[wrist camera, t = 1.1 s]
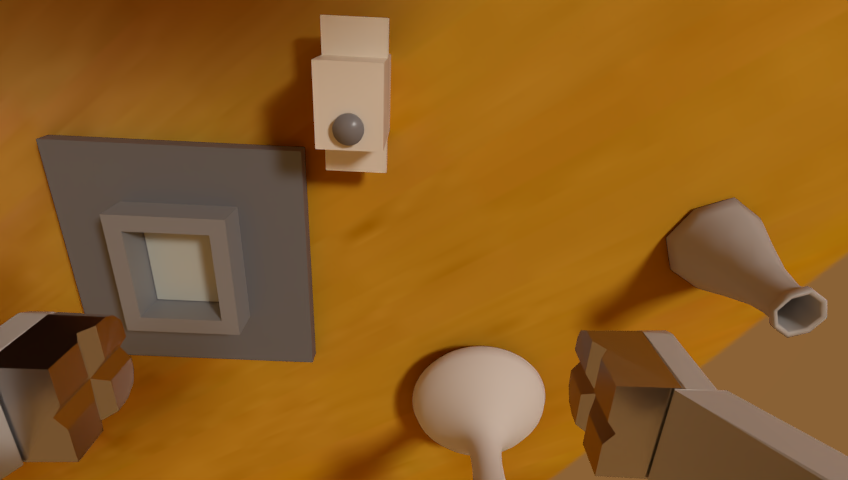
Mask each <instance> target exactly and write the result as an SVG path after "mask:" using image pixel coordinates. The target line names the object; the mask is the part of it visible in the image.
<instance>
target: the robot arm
mask: <svg viewBox="0 0 848 480" xmlns="http://www.w3.org/2000/svg"><path fill="white" fill-rule="evenodd" d="M125 337H126V334H125V331H124V328H123V324H122V321H121V320H120V319H119V318H117V317H116V316H114V315H102V314H82V313H63V312H57V313H55V312H36V311H29V312H22V313H18V314H16V315H15V316H14V317H12V318H11V319H9V320H8V321H7V322H5V323H4V324H2V325H1V326H0V480H1V479H3V478H4V477H6V476H7V475H9V474H10V473H12V472H13V471H15V470H16V469H18V468H19V467H21V466H22V465H23V462H79V460H80V459H81V458H82V457H83V455H84V454H85V453H86V452H87V450H88V449H89V448H90V447H91V445H92V444H93V443H94V442H95V440H96V439H97V438H98V436H99V435H100V434H101V433H102V431H103V425H102V420H103V419H105V418H107V417H109V416H110V415H112V414H114V413H116V412H117V411H119V410H120V408H121V407H122V406H123V404H124V403H125V402H126V400H127V399H128V397H129V394H130V391H131V388H132V385H133V380H134V368H133V363H132V359H131V357H130V356H129V355H128V354H127V353H126V352H125V351H124V350H123V349H122V348H121V347H120V345H121V344H122V342H123V340H124V339H125ZM575 351H576V353H577V356H578V358H579V360H580V362H579V363H578V364H577V365H576V366H575V367H574V368H573V369H572V370H571V374H570V381H569V403H570V408H571V413H572V416H573V419H574V421H575V424H576V425H578V426H579V427H580V428H581V429H583V430H584V431H585V435H584V440H583V446H584V448H585V451H586V453H587V456H588V459H589V461H590V464H591V466H592V469H593V472H594V474H595V476H607V477H625V478H644V479H648V480H848V456H846V455H844V454H843V453H840V452H839V451H837V450H835V449H833V448H831V447H830V446H828V445H826V444H824V443H822V442H820V441H819V440H817V439H815V438H813V437H811V436H809V435H808V434H806V433H804V432H802V431H800V430H798V429H797V428H795V427H793V426H791V425H789V424H787V423H785V422H783V421H782V420H780V419H778V418H776V417H775V416H773V415H771V414H769V413H767V412H765V411H764V410H762V409H760V408H758V407H756V406H754V405H753V404H751V403H749V402H747V401H745V400H743V399H742V398H740V397H738V396H736V395H734V394H732V393H731V392H729V391H726V390H724V391H723V390H717V389H716V388H715V387H714V385H713V384H712V383H711V382H710V380H709V379H708V378H707V377H706V375H705V374H704V373H703V372H702V370H701V369H700V368H699V367H698V365H697V364H696V363H695V362H694V360H693V359H692V358H691V357H690V355H689V354H688V353H687V352H686V350H685V349H684V348H683V347H682V345H681V344H680V343H679V342H678V340H677V339H676V338H675V337H674V335H673V334H672V333H670V332H668V331H666V330H664V331H587V330H581V332H580V334H579V336H578V338H577V343H576V347H575Z"/></svg>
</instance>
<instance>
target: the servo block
mask: <svg viewBox="0 0 848 480" xmlns="http://www.w3.org/2000/svg"><path fill="white" fill-rule="evenodd" d="M320 26H321V53H322V55H320V56H318V57H316V58H313V59H311V66H312V88H313V110H314V132H315V149H324V150H325V161H326V170H334V171H356V172H378V173H386V172H387V137H388V134H389V131H390V86H391V54H389V18H378V17H358V16H339V15H320Z"/></svg>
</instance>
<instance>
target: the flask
mask: <svg viewBox="0 0 848 480" xmlns="http://www.w3.org/2000/svg"><path fill="white" fill-rule="evenodd" d="M666 242H667V249H668V256H669V262H670V269H671V270H672V271H673V272H675V273H676V274H678V275H679V276H680V277H682V278H683V279H685V280H686V281H687V282H689V283H690V284H692V285H693V286H694V287H696V288H699V289H702V290H705V291H709V292H712V293H716V294H720V295H723V296H726V297H729V298H732V299H735V300H738V301H741V302H744V303H747V304H750V305H752V306H753V307H755V308H757V309H759V310H760V311H762V312H764V313H765V314H766V315H767V316H768V317H769V323H770V325H771V326H772V327H773V328H775V329H776V330H777V331H779V332H780V333H781V334H783V335H784V336H786V337H787V338H789V337H793V336H797V335H801V334H805V333H809V332H810V331H812V330H813V329H814V328H815V327H817V326H818V325H819V324H820V323H821V322H823V321H824V320H825V319H826V318H827V300H826V299H825V298H824V297H822V296H821V295H820V294H818V293H817V292H816V291H814V290H813V289H812V288H811V287H808V286H805V287H801V286H799V285H798V284H797V283H796V281H795V280H794V279H793V278H792V277H791V276H790V274H789V273H788V272H787V271H786V270H785V268H784V266H783V264H782V262H781V260H780V259H779V257H778V255H777V253H776V251H775V249H774V247H773V245H772V243H771V240H770V238H769V236H768V234H767V231H766V229H765V227H764V225H763V223H762V221H761V219H760V218H759V217H758V216H757V215H756V214H754V213H753V212H752V211H751V210H749V209H748V208H747V207H746V206H744V205H743V204H742V203H740V202H739V201H738V200H737V199H735V198H731V199H727V200H724V201H720V202H717V203H713V204H710V205H707V206H703V207H700V208H696V209H694V210H693V211H692V212H691V213H690V214H689V215H688V216H687V217H686V218H685V219H684V220H683V221H682V222H681V223H680V224H679V225H678V226H677V227H676V228H675V229H674V230H673V231H672V232H671V233H670V234H669V235H668V236H667V237H666Z"/></svg>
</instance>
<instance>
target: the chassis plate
mask: <svg viewBox="0 0 848 480" xmlns="http://www.w3.org/2000/svg"><path fill="white" fill-rule="evenodd" d="M36 141H37V144H38V148H39V151H40V155H41V159H42V162H43V166H44V169H45V173H46V176H47V180H48V184H49V187H50V191H51V194H52V198H53V201H54V205H55V209H56V212H57V216H58V219H59V223H60V226H61V230H62V234H63V237H64V241H65V244H66V248H67V252H68V255H69V259H70V262H71V266H72V269H73V273H74V277H75V280H76V284H77V287H78V291H79V294H80V298H81V302H82V305H83V309H84V312H85V314H102V315H114V316H116V317H117V318H119V319H120V320H121V321H122V324H123V328H124V331H125V334H126V337H125V339H124V340H123V342H122V344H121V345H120V347H121V348H122V349H123V350H124V351H125V352H126V353H127V354H128V355H148V356H172V357H197V358H221V359H246V360H270V361H294V362H313V360H314V357H315V354H316V351H315V332H314V313H313V295H312V276H311V257H310V238H309V220H308V201H307V182H306V163H305V147H291V146H270V145H249V144H228V143H207V142H186V141H165V140H144V139H123V138H102V137H81V136H60V135H46V136H43V137H40V138H37V139H36Z"/></svg>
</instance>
